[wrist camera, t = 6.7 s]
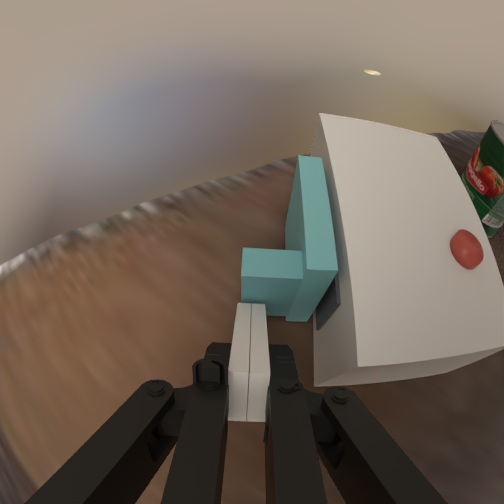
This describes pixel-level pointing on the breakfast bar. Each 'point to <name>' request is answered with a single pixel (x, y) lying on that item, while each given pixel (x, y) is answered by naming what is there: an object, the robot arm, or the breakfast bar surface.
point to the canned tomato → (487, 178)
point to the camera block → (401, 260)
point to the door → (295, 252)
